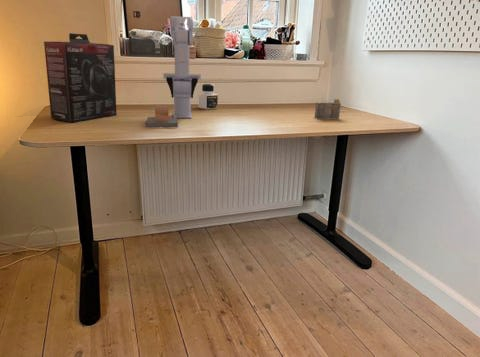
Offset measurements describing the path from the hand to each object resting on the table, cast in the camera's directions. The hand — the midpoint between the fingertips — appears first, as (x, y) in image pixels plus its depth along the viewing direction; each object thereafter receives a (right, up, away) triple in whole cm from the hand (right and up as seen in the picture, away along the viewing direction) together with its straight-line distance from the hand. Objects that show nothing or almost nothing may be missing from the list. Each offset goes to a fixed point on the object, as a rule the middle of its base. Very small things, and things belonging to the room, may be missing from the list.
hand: (182, 97), depth 155 cm
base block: (-8, -12, -1) cm, 14 cm away
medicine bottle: (+7, +3, +43) cm, 44 cm away
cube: (-8, -9, -2) cm, 12 cm away
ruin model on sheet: (+65, -4, +29) cm, 71 cm away
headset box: (-41, -7, +7) cm, 42 cm away
